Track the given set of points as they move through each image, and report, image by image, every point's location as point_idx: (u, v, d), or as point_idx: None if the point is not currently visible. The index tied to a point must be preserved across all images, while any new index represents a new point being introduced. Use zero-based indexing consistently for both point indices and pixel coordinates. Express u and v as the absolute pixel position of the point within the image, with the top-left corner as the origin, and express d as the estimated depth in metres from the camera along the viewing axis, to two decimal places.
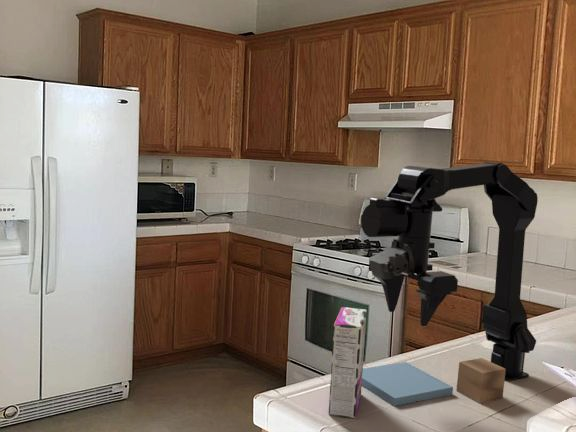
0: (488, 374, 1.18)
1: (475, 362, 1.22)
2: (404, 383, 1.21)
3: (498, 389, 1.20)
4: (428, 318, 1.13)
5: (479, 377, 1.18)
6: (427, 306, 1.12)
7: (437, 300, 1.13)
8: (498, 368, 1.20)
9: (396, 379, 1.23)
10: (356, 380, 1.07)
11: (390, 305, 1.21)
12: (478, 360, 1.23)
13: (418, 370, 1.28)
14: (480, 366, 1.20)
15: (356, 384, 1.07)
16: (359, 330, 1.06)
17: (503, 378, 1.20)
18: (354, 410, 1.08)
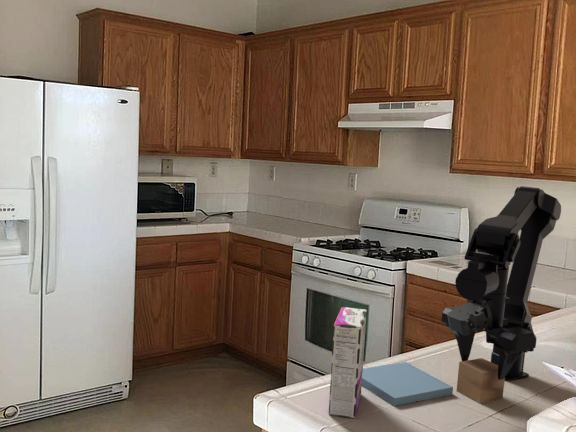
0: (488, 374, 1.18)
1: (475, 362, 1.22)
2: (404, 383, 1.21)
3: (498, 389, 1.20)
4: (505, 372, 1.17)
5: (479, 377, 1.18)
6: (505, 361, 1.15)
7: (515, 355, 1.16)
8: None
9: (396, 379, 1.23)
10: (356, 380, 1.07)
11: (463, 356, 1.25)
12: (478, 360, 1.23)
13: (418, 370, 1.28)
14: (480, 366, 1.20)
15: (356, 384, 1.07)
16: (359, 330, 1.06)
17: None
18: (354, 410, 1.08)
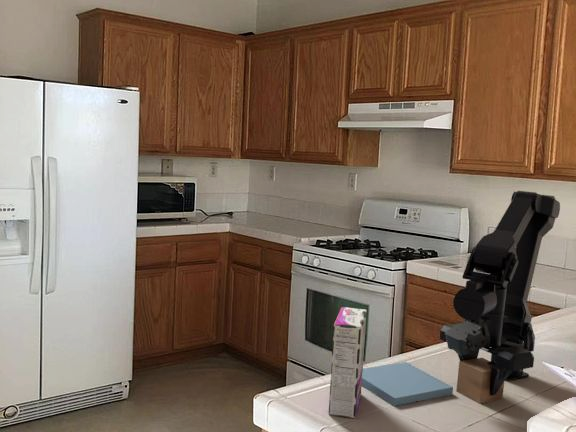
0: (488, 373, 1.18)
1: (475, 361, 1.22)
2: (404, 383, 1.21)
3: None
4: (497, 388, 1.18)
5: (479, 377, 1.18)
6: (497, 377, 1.17)
7: (506, 371, 1.17)
8: None
9: (396, 379, 1.23)
10: (356, 380, 1.07)
11: None
12: (478, 360, 1.23)
13: (418, 370, 1.28)
14: (480, 365, 1.20)
15: (356, 384, 1.07)
16: (359, 330, 1.06)
17: None
18: (354, 410, 1.08)
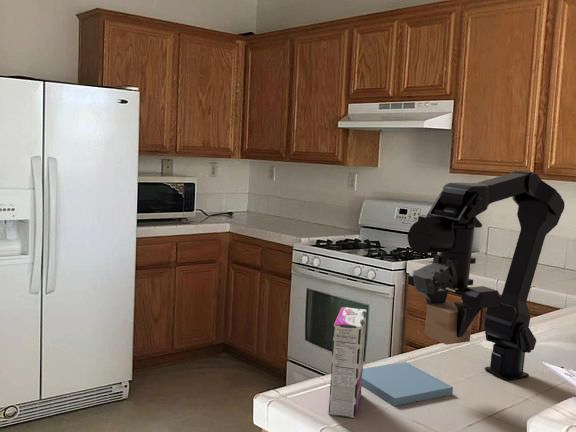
0: (455, 315, 1.17)
1: (443, 305, 1.22)
2: (404, 383, 1.21)
3: None
4: (464, 329, 1.17)
5: (447, 317, 1.17)
6: (464, 318, 1.16)
7: (473, 312, 1.17)
8: None
9: (396, 379, 1.23)
10: (356, 380, 1.07)
11: None
12: (446, 304, 1.23)
13: (418, 370, 1.28)
14: (447, 307, 1.20)
15: (356, 384, 1.07)
16: (359, 330, 1.06)
17: None
18: (354, 410, 1.08)
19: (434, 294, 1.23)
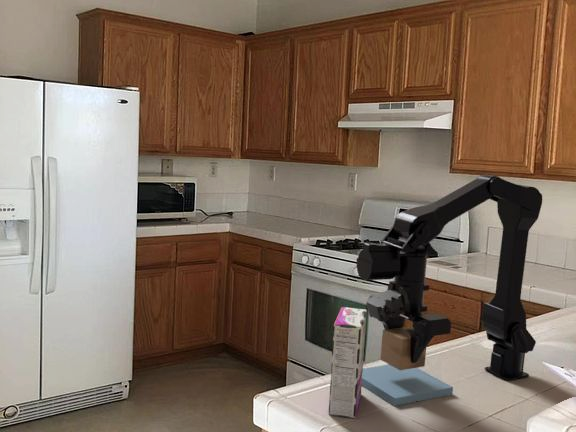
0: (408, 341, 1.19)
1: (399, 330, 1.24)
2: (404, 383, 1.21)
3: (420, 356, 1.21)
4: (418, 355, 1.20)
5: (400, 344, 1.19)
6: (417, 344, 1.18)
7: (426, 339, 1.19)
8: None
9: (396, 379, 1.23)
10: (356, 380, 1.07)
11: None
12: (403, 329, 1.25)
13: (418, 370, 1.28)
14: (402, 333, 1.22)
15: (356, 384, 1.07)
16: (359, 330, 1.06)
17: None
18: (354, 410, 1.08)
19: (391, 319, 1.25)
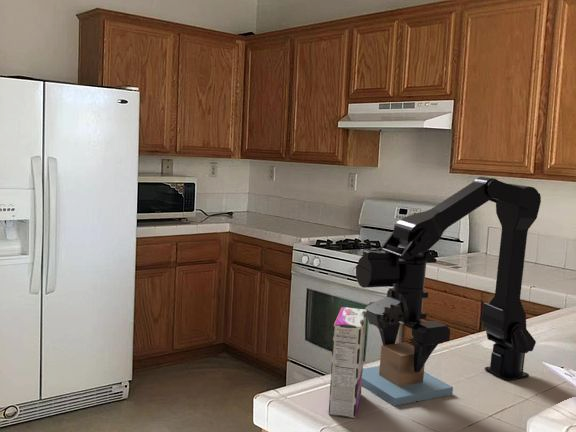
0: (407, 357, 1.19)
1: (397, 346, 1.24)
2: None
3: (418, 372, 1.21)
4: (421, 365, 1.19)
5: (398, 360, 1.19)
6: (420, 354, 1.17)
7: (430, 348, 1.18)
8: None
9: None
10: (356, 380, 1.07)
11: None
12: (401, 344, 1.25)
13: None
14: (400, 349, 1.22)
15: (356, 384, 1.07)
16: (359, 330, 1.06)
17: None
18: (354, 410, 1.08)
19: None
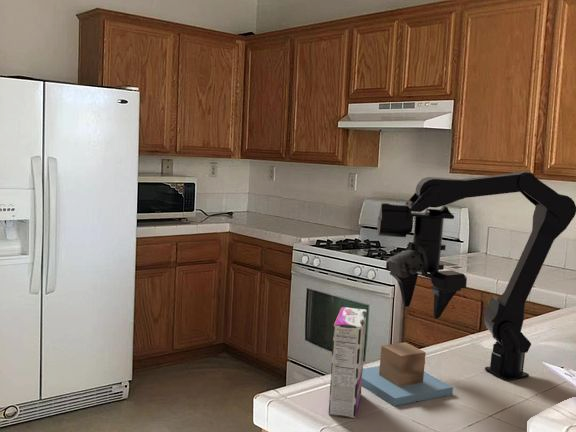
0: (407, 357, 1.19)
1: (397, 346, 1.24)
2: None
3: (418, 372, 1.21)
4: (440, 312, 1.28)
5: (398, 360, 1.19)
6: (440, 301, 1.27)
7: (448, 296, 1.27)
8: (418, 351, 1.21)
9: None
10: (356, 380, 1.07)
11: (405, 301, 1.36)
12: (401, 344, 1.25)
13: None
14: (400, 349, 1.22)
15: (356, 384, 1.07)
16: (359, 330, 1.06)
17: (423, 361, 1.22)
18: (354, 410, 1.08)
19: (405, 277, 1.36)
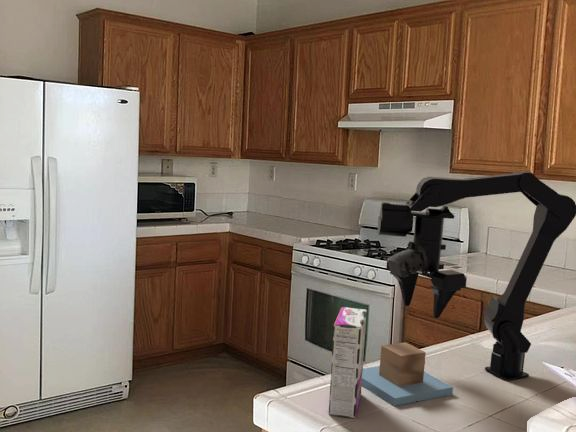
0: (407, 357, 1.19)
1: (397, 346, 1.24)
2: None
3: (418, 372, 1.21)
4: (440, 311, 1.28)
5: (398, 360, 1.19)
6: (439, 300, 1.27)
7: (448, 295, 1.28)
8: (418, 351, 1.21)
9: None
10: (356, 380, 1.07)
11: (406, 300, 1.36)
12: (401, 344, 1.25)
13: None
14: (400, 349, 1.22)
15: (356, 384, 1.07)
16: (359, 330, 1.06)
17: (423, 361, 1.22)
18: (354, 410, 1.08)
19: (405, 276, 1.36)
